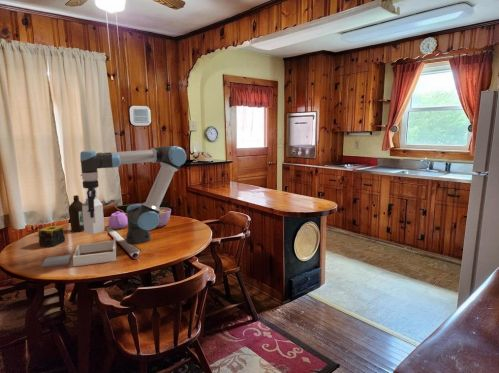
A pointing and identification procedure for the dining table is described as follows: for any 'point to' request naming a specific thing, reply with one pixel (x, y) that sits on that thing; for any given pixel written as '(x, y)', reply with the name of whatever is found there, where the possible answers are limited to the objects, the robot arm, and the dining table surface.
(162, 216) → the bowl of food
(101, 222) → the milk carton
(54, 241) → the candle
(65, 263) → the slate tile
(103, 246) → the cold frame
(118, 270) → the dining table surface
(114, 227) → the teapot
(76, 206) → the olive oil
